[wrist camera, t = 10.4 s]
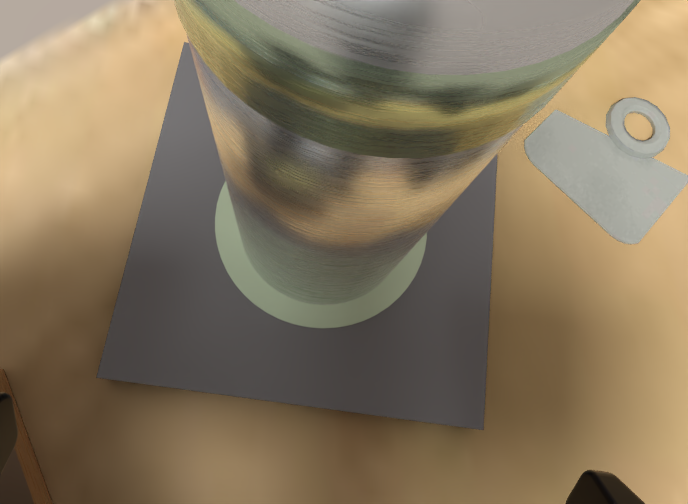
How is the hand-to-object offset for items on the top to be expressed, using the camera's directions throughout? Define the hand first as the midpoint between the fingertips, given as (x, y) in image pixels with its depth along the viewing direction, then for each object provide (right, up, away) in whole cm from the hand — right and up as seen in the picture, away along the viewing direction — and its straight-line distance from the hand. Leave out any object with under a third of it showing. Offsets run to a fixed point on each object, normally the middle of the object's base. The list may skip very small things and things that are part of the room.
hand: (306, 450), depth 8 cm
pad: (0, +4, +10) cm, 11 cm away
